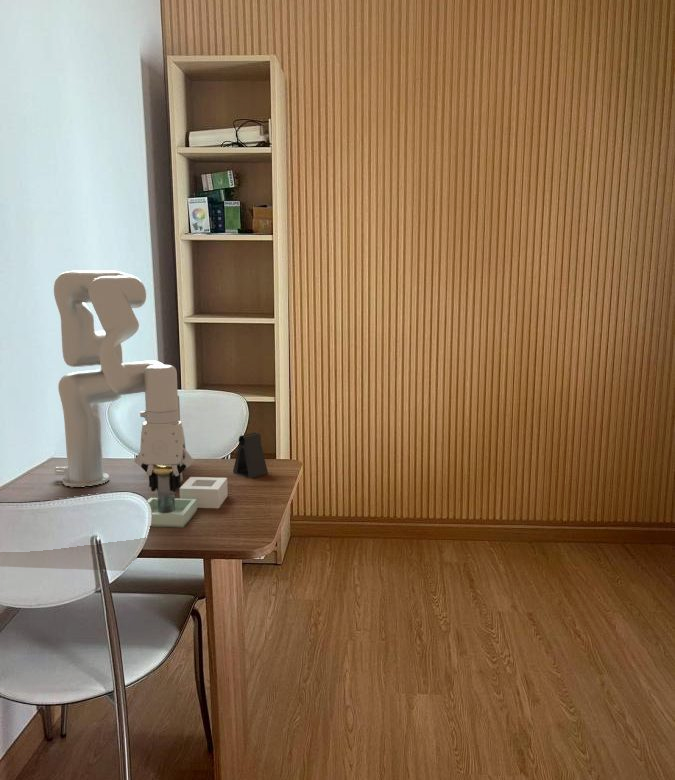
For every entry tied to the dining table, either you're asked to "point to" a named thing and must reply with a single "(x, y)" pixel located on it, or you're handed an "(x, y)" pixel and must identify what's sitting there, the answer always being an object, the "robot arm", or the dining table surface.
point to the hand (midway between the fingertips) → (165, 489)
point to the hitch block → (205, 491)
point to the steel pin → (164, 488)
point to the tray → (173, 513)
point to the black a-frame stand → (250, 457)
